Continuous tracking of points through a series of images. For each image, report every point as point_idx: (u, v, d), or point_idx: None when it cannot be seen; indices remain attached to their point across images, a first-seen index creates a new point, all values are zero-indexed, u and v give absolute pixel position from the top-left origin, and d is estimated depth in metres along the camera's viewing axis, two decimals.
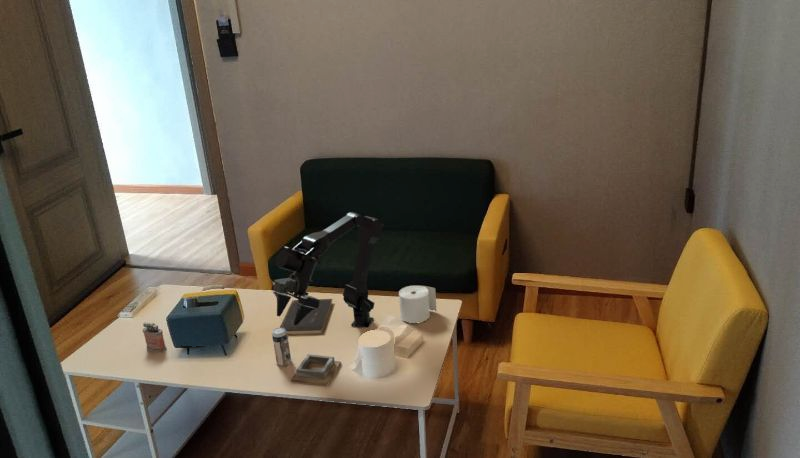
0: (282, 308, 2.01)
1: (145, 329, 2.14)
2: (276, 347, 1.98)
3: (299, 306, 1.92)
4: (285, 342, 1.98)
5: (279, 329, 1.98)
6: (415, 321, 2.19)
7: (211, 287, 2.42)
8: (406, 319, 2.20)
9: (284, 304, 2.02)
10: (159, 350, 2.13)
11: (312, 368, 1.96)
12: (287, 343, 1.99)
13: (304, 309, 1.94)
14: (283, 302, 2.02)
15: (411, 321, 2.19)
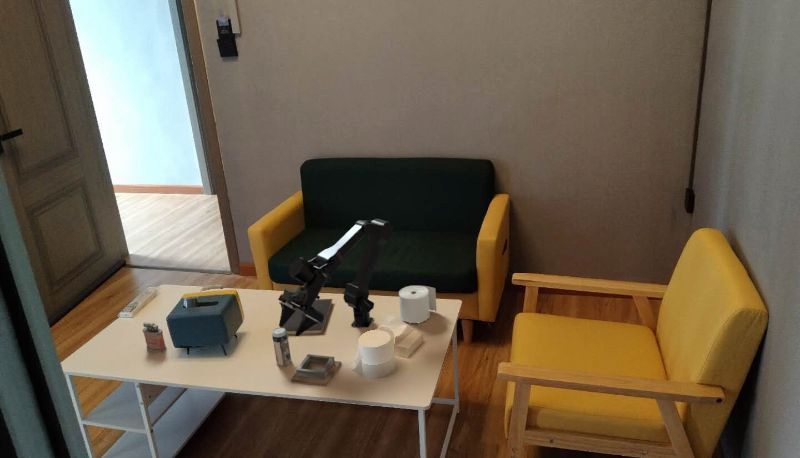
0: (285, 319, 2.04)
1: (145, 329, 2.14)
2: (276, 347, 1.98)
3: (304, 317, 1.95)
4: (285, 342, 1.98)
5: (279, 329, 1.98)
6: (415, 321, 2.19)
7: (210, 287, 2.42)
8: (406, 319, 2.20)
9: (288, 316, 2.05)
10: (159, 350, 2.13)
11: (312, 368, 1.96)
12: (287, 343, 1.99)
13: (308, 321, 1.98)
14: (288, 313, 2.05)
15: (411, 321, 2.19)
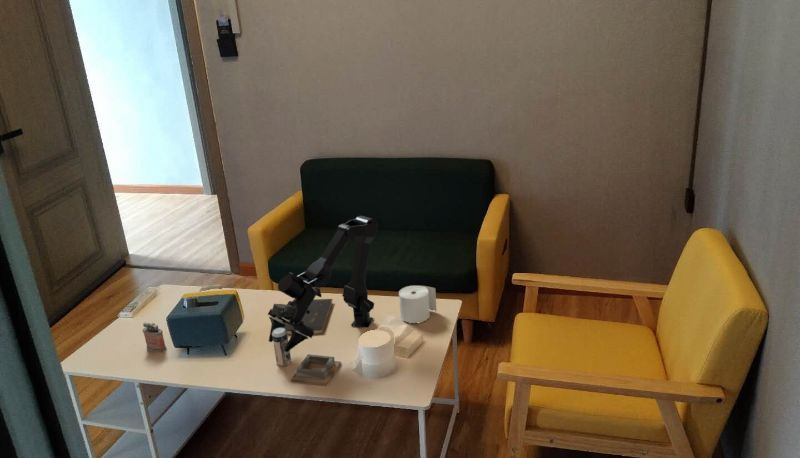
0: None
1: (145, 329, 2.14)
2: (276, 347, 1.98)
3: (293, 333, 1.94)
4: (285, 342, 1.98)
5: (279, 329, 1.98)
6: (415, 321, 2.19)
7: (209, 287, 2.42)
8: (406, 319, 2.20)
9: None
10: (159, 350, 2.13)
11: (312, 368, 1.96)
12: (287, 343, 1.99)
13: (297, 337, 1.96)
14: None
15: (411, 321, 2.19)
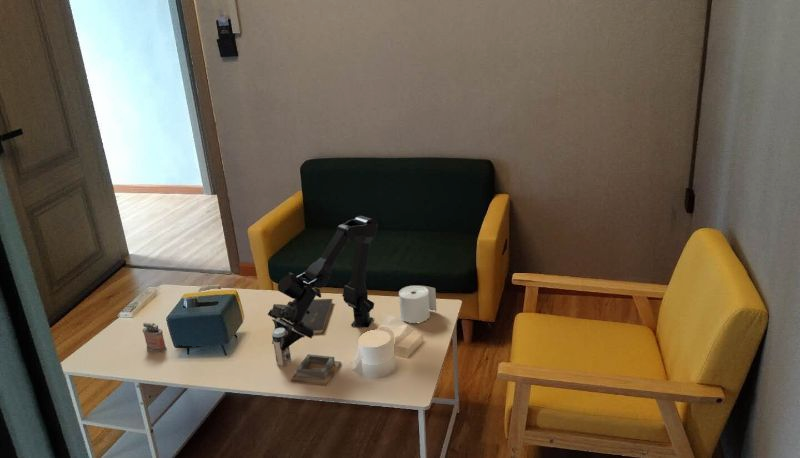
0: None
1: (145, 329, 2.14)
2: (276, 347, 1.98)
3: (290, 331, 1.95)
4: None
5: (279, 329, 1.98)
6: (415, 321, 2.19)
7: (208, 287, 2.42)
8: (406, 319, 2.20)
9: None
10: (159, 350, 2.13)
11: (312, 368, 1.96)
12: None
13: (294, 335, 1.98)
14: None
15: (411, 321, 2.19)
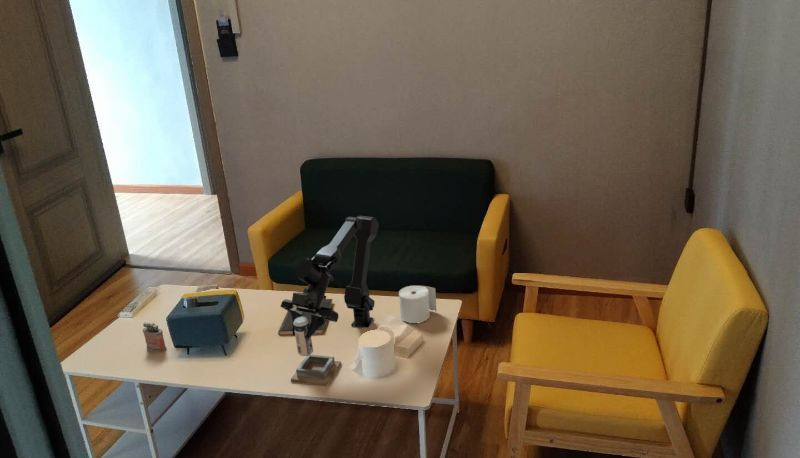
0: None
1: (145, 329, 2.14)
2: (300, 337, 1.89)
3: (314, 317, 1.88)
4: None
5: (300, 318, 1.90)
6: (415, 321, 2.19)
7: (205, 287, 2.43)
8: (406, 319, 2.20)
9: None
10: (159, 350, 2.13)
11: (312, 368, 1.96)
12: None
13: (317, 322, 1.91)
14: None
15: (411, 321, 2.19)
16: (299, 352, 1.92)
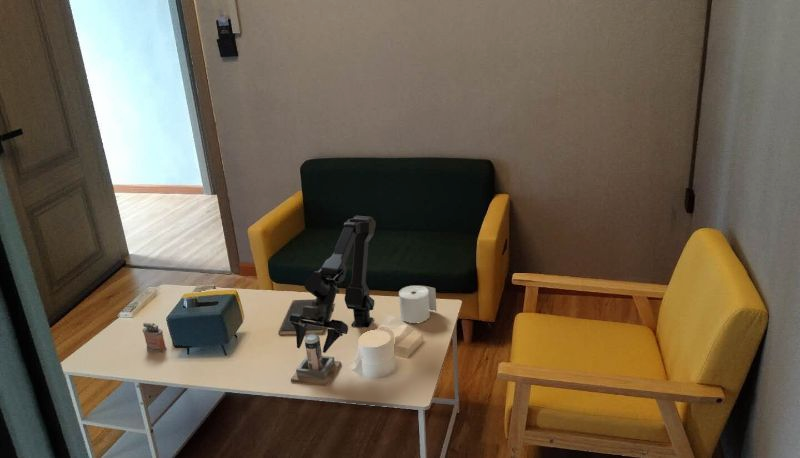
0: (301, 339, 1.94)
1: (145, 329, 2.14)
2: (311, 354, 1.90)
3: (331, 331, 1.88)
4: (320, 347, 1.91)
5: (310, 335, 1.91)
6: (415, 321, 2.19)
7: (202, 287, 2.43)
8: (406, 319, 2.20)
9: (302, 335, 1.95)
10: (159, 350, 2.13)
11: None
12: (320, 348, 1.93)
13: (332, 335, 1.91)
14: (302, 333, 1.95)
15: (411, 321, 2.19)
16: (310, 369, 1.93)
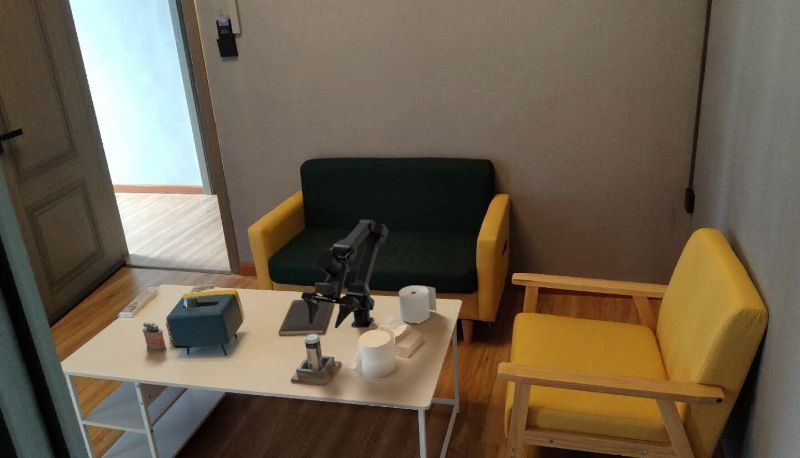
0: (313, 316, 2.00)
1: (145, 329, 2.14)
2: (312, 354, 1.90)
3: (343, 307, 1.94)
4: (320, 347, 1.91)
5: (311, 335, 1.91)
6: (415, 321, 2.19)
7: (200, 287, 2.43)
8: (406, 319, 2.20)
9: (315, 312, 2.01)
10: (159, 350, 2.13)
11: None
12: (320, 348, 1.92)
13: (344, 312, 1.97)
14: (314, 309, 2.01)
15: (411, 321, 2.19)
16: (310, 369, 1.93)
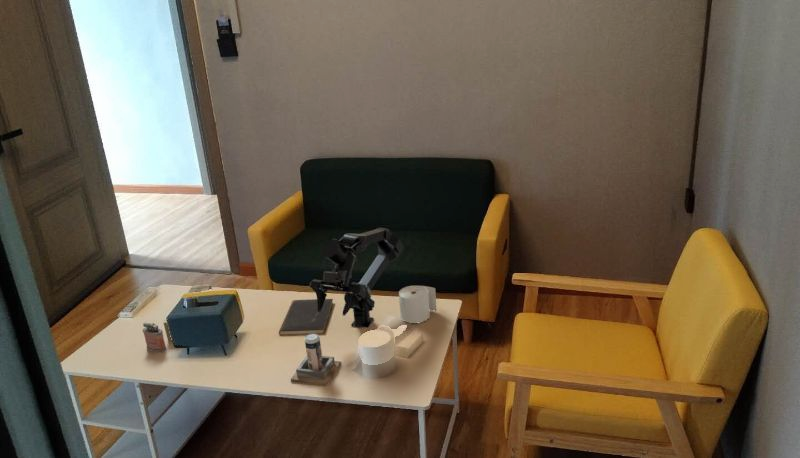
0: (321, 304, 2.06)
1: (145, 329, 2.14)
2: (312, 354, 1.90)
3: (350, 295, 2.00)
4: (320, 347, 1.91)
5: (311, 335, 1.91)
6: (415, 321, 2.19)
7: (198, 287, 2.43)
8: (406, 319, 2.20)
9: (323, 300, 2.07)
10: (159, 350, 2.13)
11: None
12: (320, 348, 1.93)
13: (351, 299, 2.03)
14: (322, 298, 2.07)
15: (411, 321, 2.19)
16: (310, 369, 1.93)
